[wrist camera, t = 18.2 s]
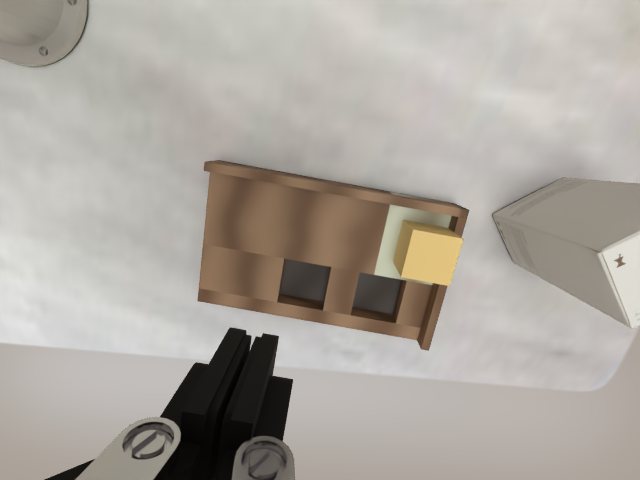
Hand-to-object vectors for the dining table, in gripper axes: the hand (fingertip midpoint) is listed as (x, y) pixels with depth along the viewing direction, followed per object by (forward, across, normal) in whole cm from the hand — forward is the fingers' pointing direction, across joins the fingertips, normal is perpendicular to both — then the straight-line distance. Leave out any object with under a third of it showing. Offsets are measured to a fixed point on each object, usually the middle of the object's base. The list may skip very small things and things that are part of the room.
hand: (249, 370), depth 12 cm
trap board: (+27, -2, +3) cm, 27 cm away
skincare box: (+27, -24, -4) cm, 37 cm away
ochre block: (+25, -12, 0) cm, 27 cm away
